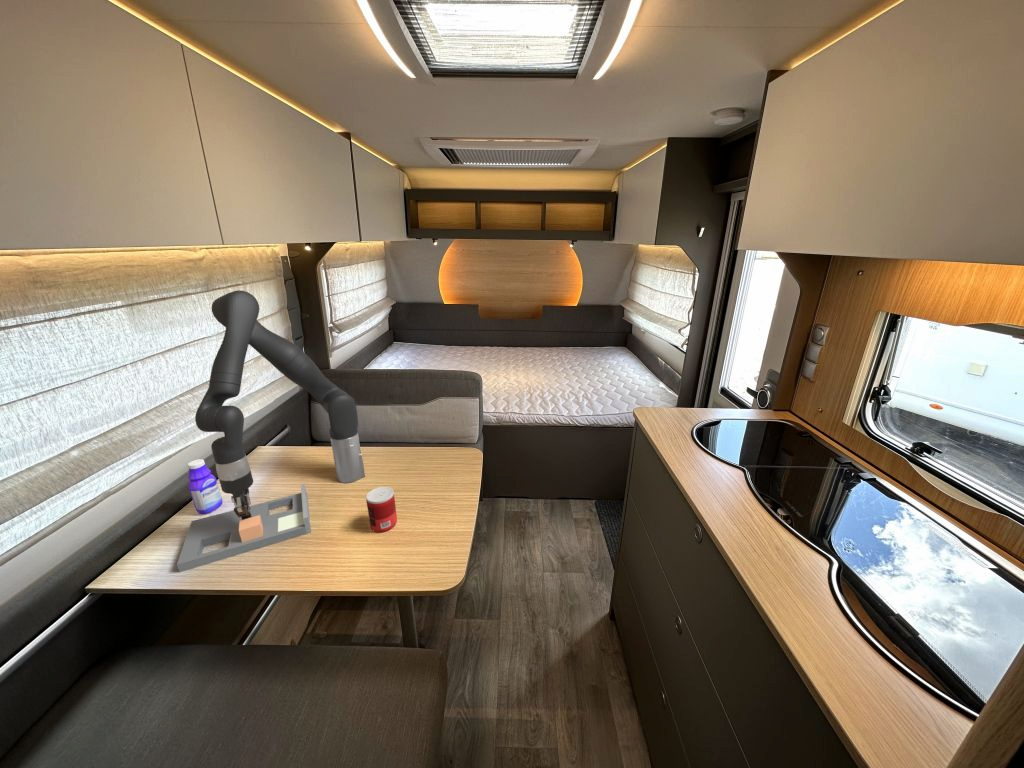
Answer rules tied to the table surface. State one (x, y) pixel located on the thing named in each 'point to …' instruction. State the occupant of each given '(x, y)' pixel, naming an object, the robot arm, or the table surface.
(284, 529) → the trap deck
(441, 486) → the table surface
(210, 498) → the bottle
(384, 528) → the canned food
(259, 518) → the block
